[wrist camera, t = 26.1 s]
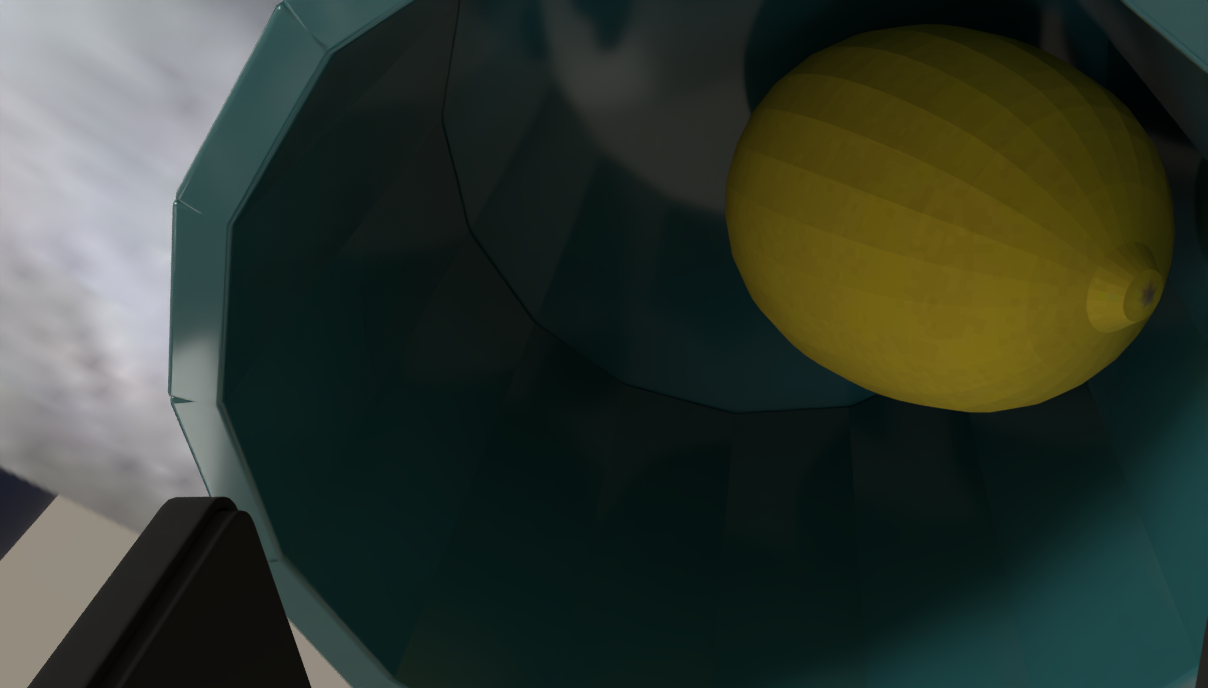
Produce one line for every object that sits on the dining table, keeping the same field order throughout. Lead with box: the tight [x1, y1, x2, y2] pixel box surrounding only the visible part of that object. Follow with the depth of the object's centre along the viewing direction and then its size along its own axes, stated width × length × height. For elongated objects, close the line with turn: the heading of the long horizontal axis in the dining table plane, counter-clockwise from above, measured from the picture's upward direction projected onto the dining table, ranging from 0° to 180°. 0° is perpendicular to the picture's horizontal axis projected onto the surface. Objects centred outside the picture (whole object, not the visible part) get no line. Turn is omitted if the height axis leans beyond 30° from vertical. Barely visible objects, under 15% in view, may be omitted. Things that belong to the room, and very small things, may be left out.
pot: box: [168, 0, 1208, 688], centre depth 18 cm, size 13×19×10 cm
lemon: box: [725, 24, 1175, 412], centre depth 18 cm, size 6×6×8 cm
